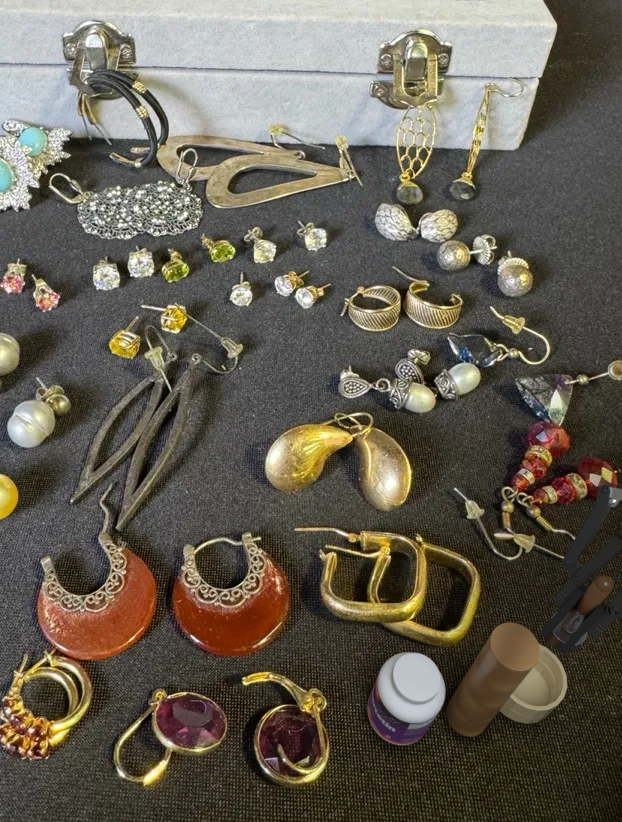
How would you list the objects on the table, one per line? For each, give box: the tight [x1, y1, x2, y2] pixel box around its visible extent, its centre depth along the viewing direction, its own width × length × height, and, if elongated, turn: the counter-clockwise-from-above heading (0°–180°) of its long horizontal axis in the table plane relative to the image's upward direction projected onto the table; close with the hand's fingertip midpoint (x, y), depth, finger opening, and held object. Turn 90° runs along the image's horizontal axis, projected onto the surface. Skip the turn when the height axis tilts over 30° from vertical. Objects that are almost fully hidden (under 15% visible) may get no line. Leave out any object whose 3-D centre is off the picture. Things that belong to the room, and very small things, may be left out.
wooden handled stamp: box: [545, 574, 615, 654], centre depth 87 cm, size 4×4×15 cm
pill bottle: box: [366, 651, 446, 746], centre depth 99 cm, size 8×8×14 cm
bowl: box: [498, 643, 568, 725], centre depth 104 cm, size 9×9×6 cm
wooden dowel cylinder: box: [445, 621, 540, 738], centre depth 95 cm, size 5×5×24 cm
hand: (555, 640), depth 87 cm, fingers closed on wooden handled stamp, 2 cm apart
